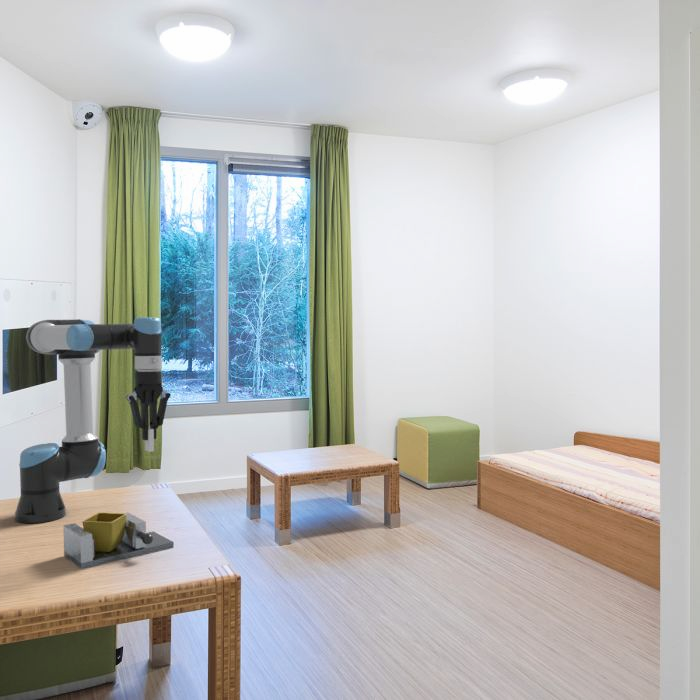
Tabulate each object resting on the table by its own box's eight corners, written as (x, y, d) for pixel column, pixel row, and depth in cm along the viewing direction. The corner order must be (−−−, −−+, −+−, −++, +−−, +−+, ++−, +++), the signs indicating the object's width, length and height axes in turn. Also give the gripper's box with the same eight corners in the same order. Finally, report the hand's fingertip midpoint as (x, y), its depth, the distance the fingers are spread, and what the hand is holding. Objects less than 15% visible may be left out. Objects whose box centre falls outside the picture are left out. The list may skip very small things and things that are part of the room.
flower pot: (82, 553, 186) (81, 520, 186) (98, 543, 195) (98, 511, 194) (112, 555, 185) (111, 522, 184) (127, 545, 193) (127, 513, 193)
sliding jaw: (116, 538, 198) (115, 514, 198) (128, 536, 200) (127, 512, 200) (142, 554, 184) (142, 529, 184) (155, 551, 187) (155, 526, 186)
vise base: (64, 556, 189) (63, 525, 189) (153, 536, 206) (153, 508, 206) (81, 568, 179) (80, 536, 179) (173, 547, 196) (173, 517, 196)
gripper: (132, 372, 193) (133, 455, 194) (174, 369, 202) (176, 449, 203) (121, 370, 199) (122, 451, 200) (163, 368, 208) (164, 446, 209)
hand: (149, 450), depth 202 cm, fingers closed
